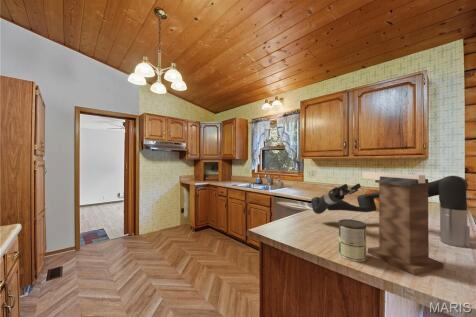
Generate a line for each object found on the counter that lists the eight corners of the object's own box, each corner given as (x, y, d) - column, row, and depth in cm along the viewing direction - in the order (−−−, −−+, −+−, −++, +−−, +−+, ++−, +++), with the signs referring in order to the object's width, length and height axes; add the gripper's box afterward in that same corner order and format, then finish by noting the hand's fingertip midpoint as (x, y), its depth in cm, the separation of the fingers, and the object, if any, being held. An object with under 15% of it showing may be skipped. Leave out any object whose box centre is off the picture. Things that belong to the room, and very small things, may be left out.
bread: (392, 212, 160) (392, 194, 160) (374, 211, 164) (374, 193, 164) (379, 206, 184) (379, 189, 184) (364, 205, 188) (364, 189, 188)
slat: (362, 178, 99) (362, 171, 99) (368, 177, 100) (368, 171, 100) (418, 183, 76) (418, 175, 76) (425, 183, 77) (425, 175, 77)
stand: (367, 252, 89) (367, 176, 89) (394, 248, 94) (394, 175, 94) (413, 274, 72) (412, 180, 72) (443, 268, 76) (443, 179, 77)
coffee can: (334, 250, 91) (334, 219, 91) (356, 250, 91) (356, 219, 92) (347, 262, 81) (347, 226, 81) (372, 261, 81) (372, 226, 81)
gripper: (345, 201, 120) (367, 191, 106) (325, 203, 116) (345, 192, 102) (341, 190, 123) (361, 178, 110) (321, 190, 119) (339, 179, 106)
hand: (353, 185), depth 106 cm, fingers open, 8 cm apart
